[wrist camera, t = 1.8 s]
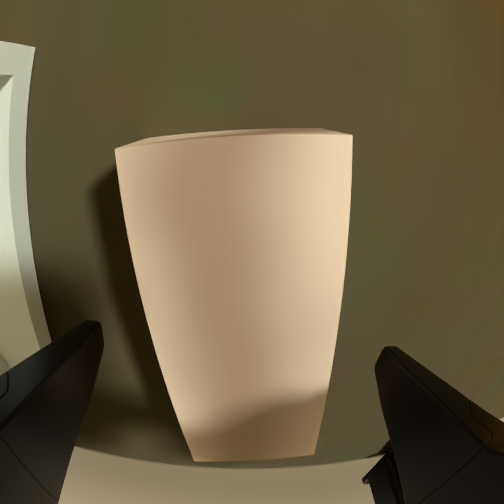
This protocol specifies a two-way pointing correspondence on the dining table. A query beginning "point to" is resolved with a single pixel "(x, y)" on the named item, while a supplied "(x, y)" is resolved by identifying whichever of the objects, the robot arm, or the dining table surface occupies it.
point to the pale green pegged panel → (16, 217)
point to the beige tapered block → (241, 279)
